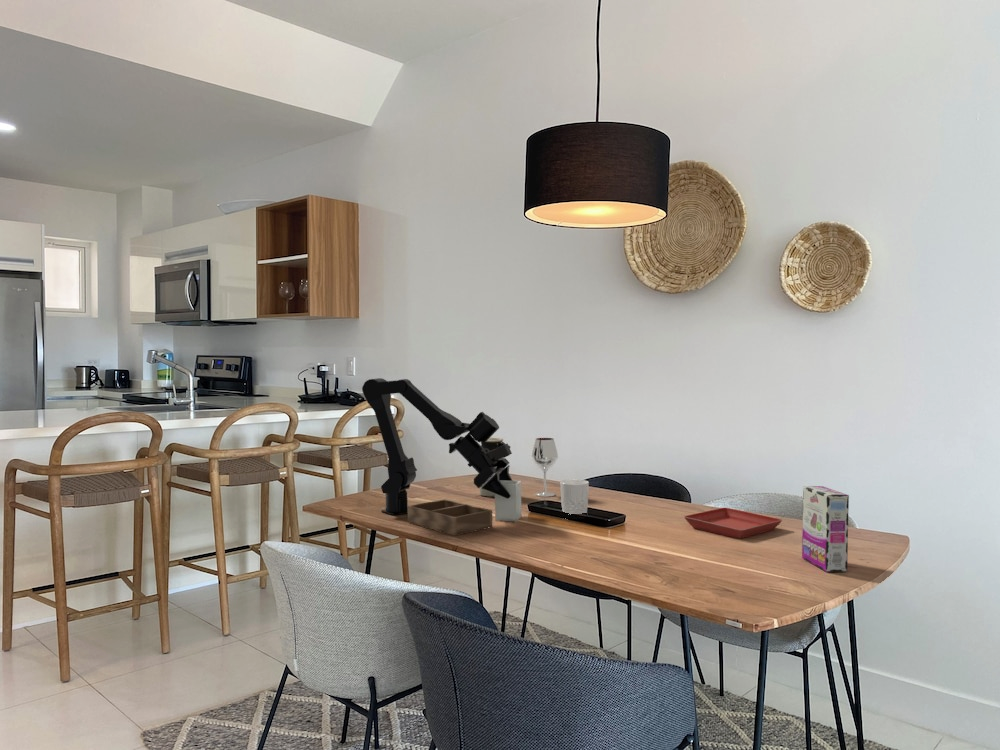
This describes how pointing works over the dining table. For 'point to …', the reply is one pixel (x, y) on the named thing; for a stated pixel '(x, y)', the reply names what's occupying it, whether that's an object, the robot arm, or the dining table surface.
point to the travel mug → (490, 445)
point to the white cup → (574, 496)
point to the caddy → (509, 502)
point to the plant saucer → (732, 522)
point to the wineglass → (544, 459)
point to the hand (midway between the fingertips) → (513, 494)
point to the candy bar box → (825, 528)
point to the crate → (450, 516)
